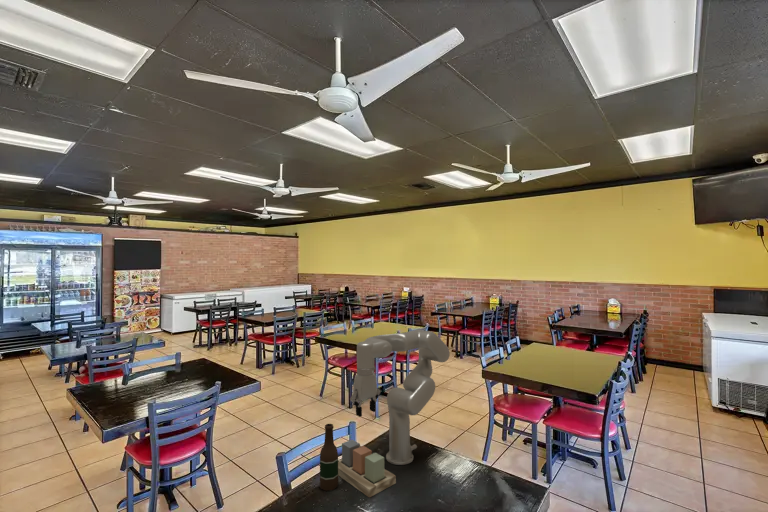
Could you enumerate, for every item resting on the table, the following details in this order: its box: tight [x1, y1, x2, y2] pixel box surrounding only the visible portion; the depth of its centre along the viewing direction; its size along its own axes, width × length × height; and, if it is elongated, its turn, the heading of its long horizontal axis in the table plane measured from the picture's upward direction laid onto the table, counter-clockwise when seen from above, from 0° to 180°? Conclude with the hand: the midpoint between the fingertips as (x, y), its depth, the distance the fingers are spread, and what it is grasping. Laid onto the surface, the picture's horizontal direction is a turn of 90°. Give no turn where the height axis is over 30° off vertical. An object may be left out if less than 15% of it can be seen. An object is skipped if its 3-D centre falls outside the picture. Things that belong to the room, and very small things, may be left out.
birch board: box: [338, 458, 397, 498], centre depth 152 cm, size 14×26×3 cm, turn 42°
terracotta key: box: [352, 445, 373, 476], centre depth 152 cm, size 6×6×8 cm
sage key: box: [364, 452, 385, 484], centre depth 146 cm, size 6×6×8 cm
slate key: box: [341, 439, 361, 468], centre depth 158 cm, size 6×6×8 cm
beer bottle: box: [319, 423, 339, 492], centre depth 146 cm, size 8×8×24 cm
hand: (365, 413), depth 155 cm, fingers open, 6 cm apart
